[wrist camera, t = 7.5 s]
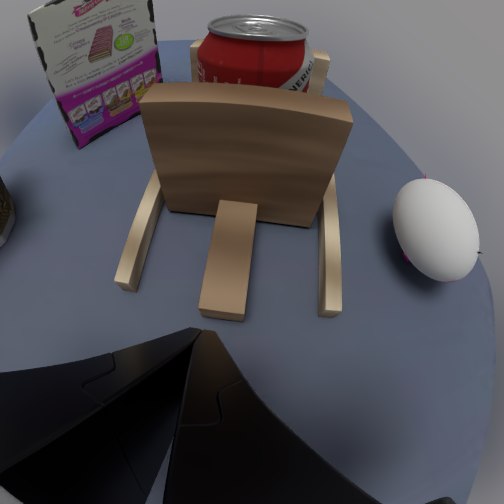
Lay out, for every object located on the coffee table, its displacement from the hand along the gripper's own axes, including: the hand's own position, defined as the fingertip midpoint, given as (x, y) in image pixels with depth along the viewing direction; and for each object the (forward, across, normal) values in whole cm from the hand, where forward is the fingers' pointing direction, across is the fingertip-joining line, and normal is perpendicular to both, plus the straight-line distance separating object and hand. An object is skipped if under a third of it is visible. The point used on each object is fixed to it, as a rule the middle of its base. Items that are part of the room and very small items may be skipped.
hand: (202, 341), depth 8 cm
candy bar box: (+21, -16, +10) cm, 28 cm away
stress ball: (+12, +14, +1) cm, 18 cm away
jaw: (+10, 0, 0) cm, 10 cm away
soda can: (+16, 0, +5) cm, 17 cm away
